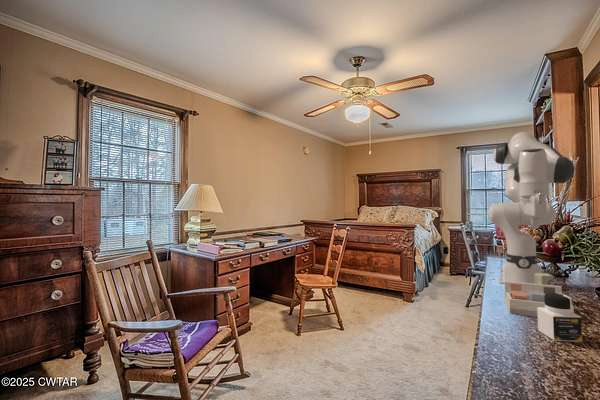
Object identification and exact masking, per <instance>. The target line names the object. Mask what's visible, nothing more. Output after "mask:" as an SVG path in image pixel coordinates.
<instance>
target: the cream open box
mask: <svg viewBox="0 0 600 400" xmlns="http://www.w3.org/2000/svg"><path fill="white" fill-rule="evenodd" d="M504 283H505V284H504ZM504 283H503V284H504V303H505V305H506V307H507V310H508V312H509V314H510V315H511V314H512V315H518V316H525V317H526V316H527V317H534V318H538V313H537V308H538V307H545V302H536V301H531V299H530V298H529V290H530V291H540V292H543V293H544V294H547V293H559V294H563V292H562V286H561V285H555V284H554V285H542V284H531V283H520V282H508V281H504ZM512 292H521V293H525V294H526V295H527V299H528V301H527V300H518V299H513V298H512ZM574 309H575V308H574V305H573V304H572V311H571V312H572V313H575V311H574Z"/></svg>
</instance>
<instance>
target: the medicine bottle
mask: <svg viewBox="0 0 600 400" xmlns="http://www.w3.org/2000/svg"><path fill="white" fill-rule="evenodd" d="M572 299H573V298H572V297H571V296H569V295H567V294H563V293H562V294H559V293H547V294H545V295H544V302H545V307H538V308H537V313H538V317H537V331H538V332H539V333H542V334H543V335H545V336H546V337H548V338H549V339H551V340H552V341H554V342H577V343H580V342H581V343H582V342H583V330H582V328H583V325H582V316H581V315H579V314H576V313H575V312H574V313H572V312H571V311H572V305H573V300H572Z"/></svg>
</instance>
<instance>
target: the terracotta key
mask: <svg viewBox="0 0 600 400" xmlns="http://www.w3.org/2000/svg"><path fill="white" fill-rule="evenodd" d="M512 298H513V299H518V300H527V301H528V299H527V295H526V294H525V293H521V292H512Z"/></svg>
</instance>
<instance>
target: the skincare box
mask: <svg viewBox="0 0 600 400" xmlns="http://www.w3.org/2000/svg"><path fill="white" fill-rule="evenodd" d="M534 275H535V284H542V285H554V286H555V281H554V275H552V274H549V273H543V272H542V273H534Z"/></svg>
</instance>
